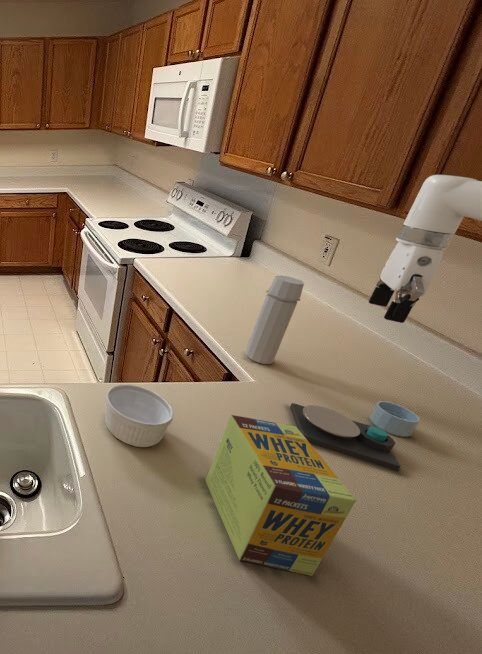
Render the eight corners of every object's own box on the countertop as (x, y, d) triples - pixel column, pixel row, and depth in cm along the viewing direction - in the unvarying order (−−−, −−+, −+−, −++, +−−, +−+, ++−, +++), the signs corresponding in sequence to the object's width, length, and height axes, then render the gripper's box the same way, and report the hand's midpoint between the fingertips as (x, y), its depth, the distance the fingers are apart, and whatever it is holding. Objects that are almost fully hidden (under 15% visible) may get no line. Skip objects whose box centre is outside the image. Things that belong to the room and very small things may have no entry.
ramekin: (111, 401, 96) (117, 376, 93) (170, 426, 89) (179, 400, 86) (91, 432, 85) (97, 405, 83) (157, 463, 79) (166, 435, 76)
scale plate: (351, 416, 92) (351, 415, 92) (366, 444, 84) (367, 443, 84) (298, 401, 96) (298, 399, 96) (307, 426, 88) (308, 425, 88)
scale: (376, 433, 92) (382, 422, 91) (400, 472, 82) (407, 461, 80) (289, 407, 99) (294, 397, 98) (301, 440, 88) (306, 429, 87)
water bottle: (274, 369, 115) (308, 287, 106) (242, 359, 119) (272, 279, 109) (273, 355, 122) (304, 277, 113) (242, 346, 126) (271, 270, 117)
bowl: (402, 423, 96) (411, 407, 95) (416, 442, 90) (426, 426, 89) (363, 412, 99) (372, 397, 98) (374, 430, 93) (383, 414, 92)
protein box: (239, 562, 61) (275, 486, 56) (203, 480, 76) (229, 412, 70) (314, 578, 60) (359, 501, 54) (264, 491, 74) (296, 423, 69)
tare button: (381, 435, 88) (385, 429, 87) (387, 443, 85) (390, 438, 85) (364, 429, 89) (367, 424, 88) (369, 438, 86) (372, 432, 86)
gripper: (471, 251, 75) (424, 333, 82) (428, 233, 89) (391, 303, 96) (417, 243, 78) (376, 322, 85) (384, 226, 92) (351, 295, 99)
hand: (384, 312), depth 90 cm, fingers open, 9 cm apart
